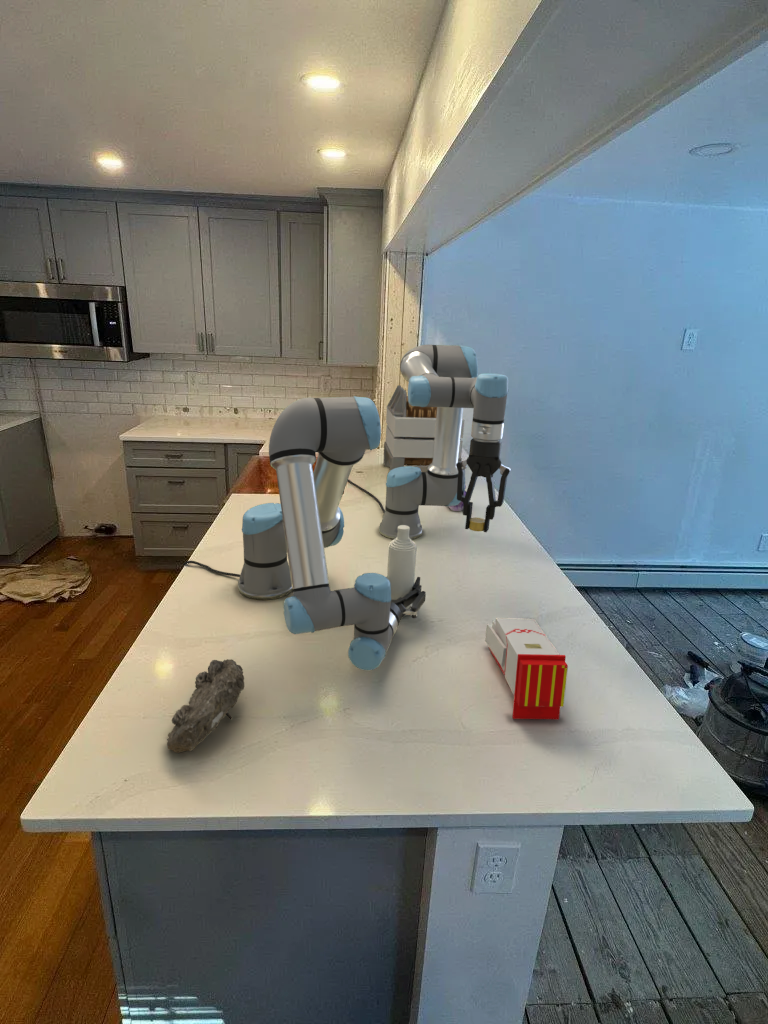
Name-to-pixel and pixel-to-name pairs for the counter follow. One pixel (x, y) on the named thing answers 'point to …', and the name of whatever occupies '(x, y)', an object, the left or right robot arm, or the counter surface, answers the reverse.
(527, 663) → the toy
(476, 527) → the cap
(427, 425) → the grey slatted box
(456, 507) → the figurine
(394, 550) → the bottle
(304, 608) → the left robot arm
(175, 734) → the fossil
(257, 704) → the counter surface
